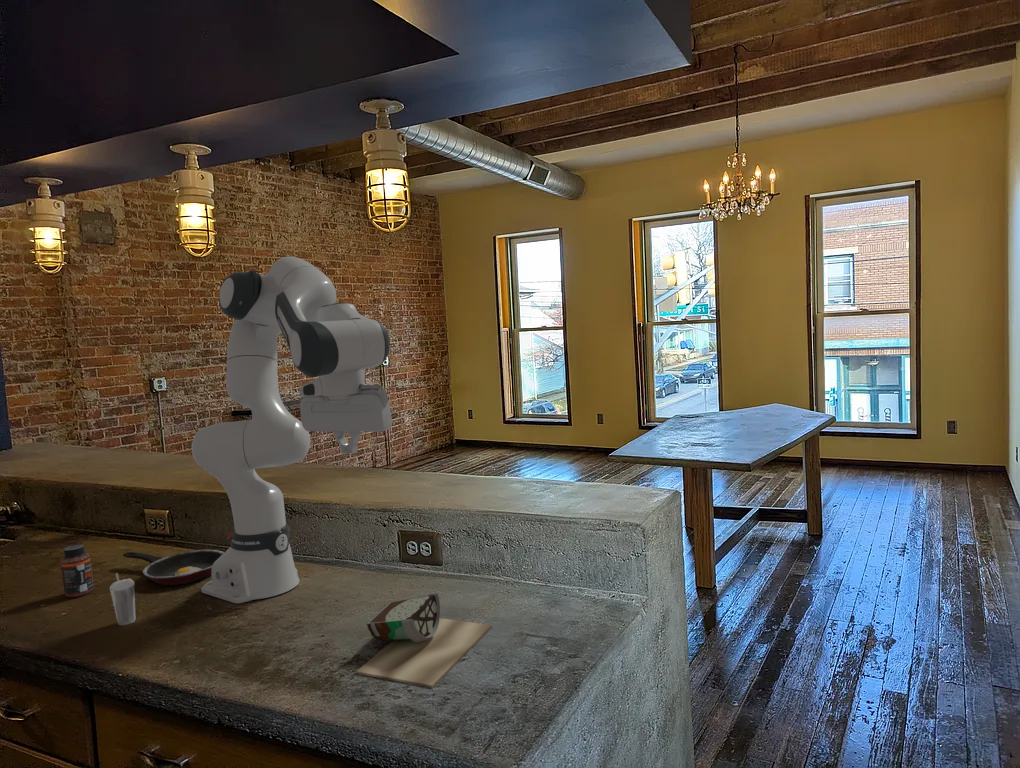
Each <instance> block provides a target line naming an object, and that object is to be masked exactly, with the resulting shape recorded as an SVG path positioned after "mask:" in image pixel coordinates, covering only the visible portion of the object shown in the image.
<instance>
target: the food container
mask: <svg viewBox="0 0 1020 768" xmlns="http://www.w3.org/2000/svg"><path fill="white" fill-rule="evenodd" d="M440 618H441V601H440V597H439V593H436V592H433V593H429V594H425V595H420V596H417V597H409V598H405V599H400V600H396V601H391V602H388V603H387V604H386V605H385V607H384V608H382V609H380V611H379V612H378V613H377V614H375V616H374V617H372V618H371V619H370V620H369V621H367V623H366V626H367V629H368V631H369V633H370V634H371V636H372V637H373V638H374V639H375V640H378V641H394V640H403V639H411V640H412V641H414V642H417V643H418V642H422V641H425V640H427V639H429V638H430V637H432V636H433V635H434V634H435V632H436V630H437V628H438V625H439V620H440Z"/></svg>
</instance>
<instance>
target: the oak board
mask: <svg viewBox="0 0 1020 768" xmlns="http://www.w3.org/2000/svg"><path fill="white" fill-rule="evenodd" d="M491 628H493V626H492V625H491V624H485V623H478V622H470V621H464V620H457V619H450V618H441V617H440V620H439V625H438V628H437V630H436V632H435V634H434V635H433V636H432V637H430V638H429V639H427V640H425V641H422V642H418V643H417V642H414V641H412V640H411V639H403V640H391V642H389V644H387V645H386V646H385V647H384V648H383V649H381V650H380V651H379V652H378V653H376V654H375V655H374V656H373V657H372V658H370V659H369V660H368V661H367V662H365V663H364V664H363V665H362V666H361V667H359V668H358V669H357V670H355V673H356V674H357V675H361V676H362V675H364V676H367V677H374V678H379V679H383V680H389V681H394V682H399V683H404V684H405V683H406V684H411V685H416V686H421V687H427V688H431V689H432V688H434V687H435V686H436V685H437V684H439V682H440V681H441V680H442V679H443V678H444V677H445V675H447V674H448V673H449V672H450V671H451V669H453V667H454V666H456V664H458V663H459V661H460V660H461V659H462V658H463V657H465V656H466V654H468V652H469V651H471V649H472V648H473V647H474V646H475V645H476V644H477V643H478V642H479V641H480V640H481V639H482V638H483V636H485V635H486V634H487V632H489V631H490V630H491Z"/></svg>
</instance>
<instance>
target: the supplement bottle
mask: <svg viewBox="0 0 1020 768" xmlns="http://www.w3.org/2000/svg"><path fill="white" fill-rule="evenodd" d="M63 555H64V557H62V558H61V560H60V567H61V568H60V569H61V576H62V577H61V578H62V584H63V591H64V596H65V597H67V598H79V597H82V596H83V597H84V596H85V595H88V594H90V593H92V592H93V590H94V589H95V585H94V578H93V577H94V576H93V571H92V562H91V556H90V554H89V553H88V552H85V546H84V544H74V545H70V546H67V547H65V548H63Z"/></svg>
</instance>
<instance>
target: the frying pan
mask: <svg viewBox="0 0 1020 768" xmlns="http://www.w3.org/2000/svg"><path fill="white" fill-rule="evenodd" d="M224 553H225V551H221V550H218V549H198V550H197V549H196V550H190V551H183V552H180V553H175V554H172V555H169V556H165V557H161V556H155V555H153V554H148V553H141V552H133V551H131V552H130V551H129V552H124V553H122V556H123V557H125V558H128V559H137V560H143V561H145V562H147V563H149V564H147V565H146V566H145V567H144V568H143V569H142V573H143V575H144V576H145V577H147V578H148V579H149V580H151V581H153V582H155V583H157V584H159V585H162V586H173V585H183V584H189V583H192V582H193V583H194V582H195V581H200V580H202V579H204V578H207V577H209V576H211V570H212V566H213V564H214V562H215V561H216V560H217V559H218V558H219V557H220V556H222V555H223V554H224Z"/></svg>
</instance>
